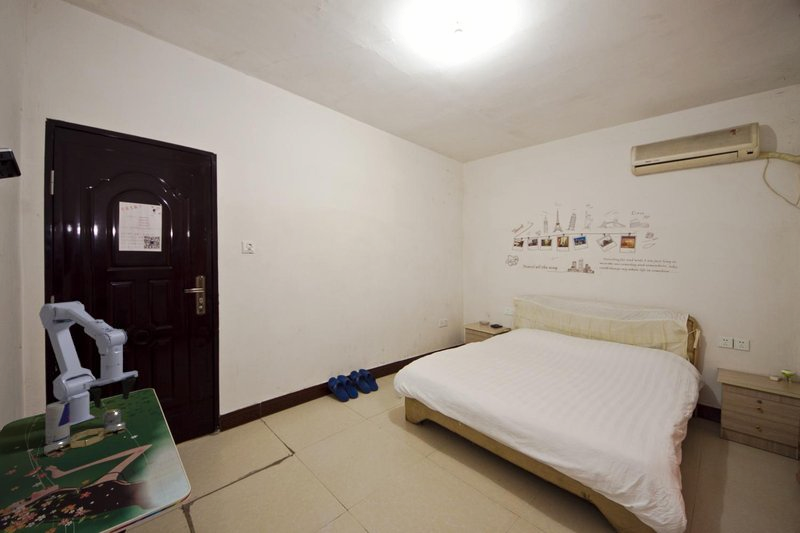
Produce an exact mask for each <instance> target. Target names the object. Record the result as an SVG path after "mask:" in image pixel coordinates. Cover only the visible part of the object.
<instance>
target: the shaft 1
mask: <svg viewBox="0 0 800 533" xmlns="http://www.w3.org/2000/svg"><path fill="white" fill-rule="evenodd" d="M69 438H70V437H69ZM69 438H67V439H64V440H61V441H58V442H56V443H53V444H50V445H48V444H46V445H45V446H44V447H43V455H44V456H46V457H51V456H53V455H56V454H57V453H58V452H57V451H58V450H59V451H61V452H64V451H67V450H70V449H71V448H70V446H68V445H69V443H70V439H69Z"/></svg>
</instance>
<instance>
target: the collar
mask: <svg viewBox="0 0 800 533" xmlns="http://www.w3.org/2000/svg"><path fill="white" fill-rule="evenodd" d="M106 434H107V433H106V432H105V429H104V428H103V427H98V428H91V429H86V430H83V431H80V432H78V433H73V435H70V437H69V439H70V443H69V445H68V446H70V449H76V448H83V447H87V446H90V445H92V444H95V443H98V442H101V441H102V440H104V438H106ZM88 436H92V437H90V438H87V439H82V438H86V437H88ZM79 439H82V440H79Z"/></svg>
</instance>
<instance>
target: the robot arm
mask: <svg viewBox="0 0 800 533" xmlns="http://www.w3.org/2000/svg"><path fill="white" fill-rule="evenodd" d="M38 313H39V314H38V316H39V319H40V322H41V324H42V328H43V329H45V330H47V333H48V337H49V339H50V342H51V346H52V348H53V349H52V350H53V352H54V354H55V358H56V361H57V364H58V367H59V371H60V374H59V375H58V376H57V377H56V378H55V379H54V380H53V381H52V384H53V390H52V391H53V396H54V398H56V399H58V401H69V403H70V427H71V426H75V425H76V424H77V425H78V424H80V423H83V422H86V421H89V420H92V419H95V416H94V415H92V414H90V397H91V398H92V400H93V403H94V406H95V408H97V409H99V408H101V406H102V404H101V403H102V402H101V399H102V398H101V396H102V391H103V389H102V388H101V386H105V385H108V384H112V383H117V382H119V381H121V384H122V399H124V400H128V399H129V396H130V392H131V389H132V387H133V386H134V384H135V383H136V380H137V379H136V378H137V377H139V374H138V373H139V372H138V371H137V370H132V371H127V372H123V369H124V368H123V363H124V361H123V360H124V358H123V357H124V356H123V352H124V350H123V348H124V347H123V345H125V344H126V343H127V341H128V336H127V333H126V331H125V330H124V329H122V328H121V329H120V328H118V329H117V328H113V326H110V325H109V324H108V323H106V322H105V321H104V319H95V318H94V317H92V316H91V315H90V314H89V313H88V312H87V311H86V310H85V305H84V304H82V302H80V301H78V300H75V301H68V302H67V301H66V302H57V303H45V304H43V305H42V307H41V308H40V310H39V312H38ZM75 324H79V325H80V326H82V327H84V328H83V330H84V333H85V334H87V335H88V336H90V337H91V338H92V339H94V340H95V344H96V347H97V348H98V354H99V355H100V378H97V379H96V377H95V376H94V375H93V374H92V371H91V369H88V368H84V367H82V365H81V361H80V359H79V357H78V353H77V351H76V347H75V345H74V341H73V339H72V338H73V337H72V336H71V331H70V327H71V326H73V325H75Z"/></svg>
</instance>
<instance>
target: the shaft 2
mask: <svg viewBox="0 0 800 533" xmlns="http://www.w3.org/2000/svg"><path fill="white" fill-rule="evenodd" d="M105 432H106V433H107V434H106V436H105V438H107V437H110V436H111V437H112V436H114V432H117V434H122V433H125V432H126V422H125V421H122V422H121V423H118V424H114V425H111V426H107V427H105Z"/></svg>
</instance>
